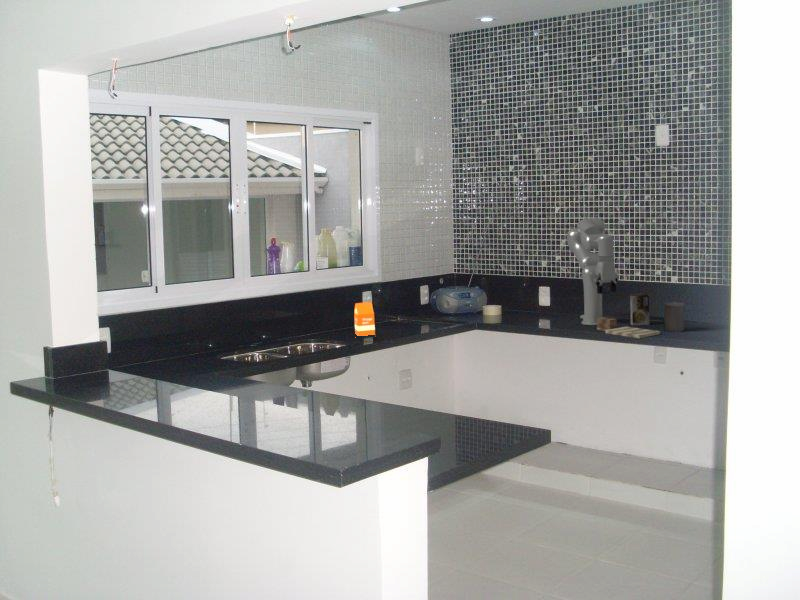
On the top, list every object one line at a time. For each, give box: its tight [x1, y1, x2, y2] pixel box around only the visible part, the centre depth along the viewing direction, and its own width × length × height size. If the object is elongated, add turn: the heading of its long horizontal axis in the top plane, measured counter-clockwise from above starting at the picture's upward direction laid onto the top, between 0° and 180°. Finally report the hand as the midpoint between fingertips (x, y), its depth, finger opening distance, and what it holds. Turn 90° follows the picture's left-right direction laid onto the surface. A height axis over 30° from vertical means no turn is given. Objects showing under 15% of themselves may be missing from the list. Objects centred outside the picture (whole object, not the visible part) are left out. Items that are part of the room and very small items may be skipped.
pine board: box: [604, 326, 661, 339], centre depth 437 cm, size 22×15×2 cm
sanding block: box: [596, 316, 618, 332], centre depth 451 cm, size 9×5×6 cm, turn 33°
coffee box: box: [629, 292, 650, 326], centre depth 462 cm, size 9×6×16 cm
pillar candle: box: [663, 301, 685, 333], centre depth 440 cm, size 10×10×15 cm
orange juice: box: [353, 301, 376, 336], centre depth 451 cm, size 8×9×20 cm
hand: (606, 292), depth 448 cm, fingers open, 9 cm apart
